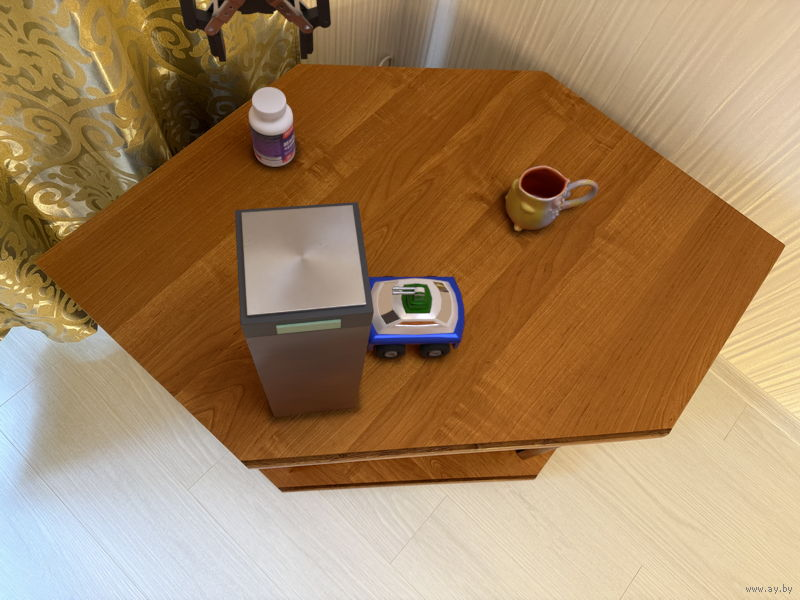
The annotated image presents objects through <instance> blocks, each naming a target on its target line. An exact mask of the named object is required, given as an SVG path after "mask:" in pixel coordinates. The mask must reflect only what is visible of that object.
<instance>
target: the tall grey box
mask: <svg viewBox="0 0 800 600" xmlns="http://www.w3.org/2000/svg"><path fill="white" fill-rule="evenodd" d="M234 223H235V242H236V244H235V245H236V261H237V263H236V264H237V282H238V283H237V284H238V285H237V286H238V303H239V305H238V306H239V324H240V327H241V331H242V333H243V335H244V339H245V341H246V344H247V347H248V349H249V350H248V351H249V352H250V355H251V357H252V360H253V363H254V366H255V369H256V371H257V374H258V377H259V379H260V380H259V381H260V382H261V385H262V387H263V391H264V393H265V396H266V398H267V402H268V404H269V407H270V410H271V413H272V415H273V417H274V418H278V417H279V418H281V417H289V416H296V415H304V414H312V413H313V414H314V413H322V412H329V411H338V410H345V409H346V410H347V409H354V408H357V403H358V399H359V392H360V388H361V387H360V386H361V382H362V377H363V372H364V366H365V362H366V356H367V351H368V349H367V346H368V340H369V335H370V330H371V324H372V319H373V314H374V309H373V302H372V295H371V288H370V281H369V277H370V275H369V268H368V261H367V253H366V247H365V241H364V239H365V238H364V233H363V227H362V219H361V212H360V206H359V202H358V201H355V202H353V201H351V202H336V203H326V204H325V203H324V204H323V203H322V204H307V205H294V206H293V205H291V206H277V207H276V206H275V207H262V208H247V209H245V208H244V209H235V210H234Z"/></svg>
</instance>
